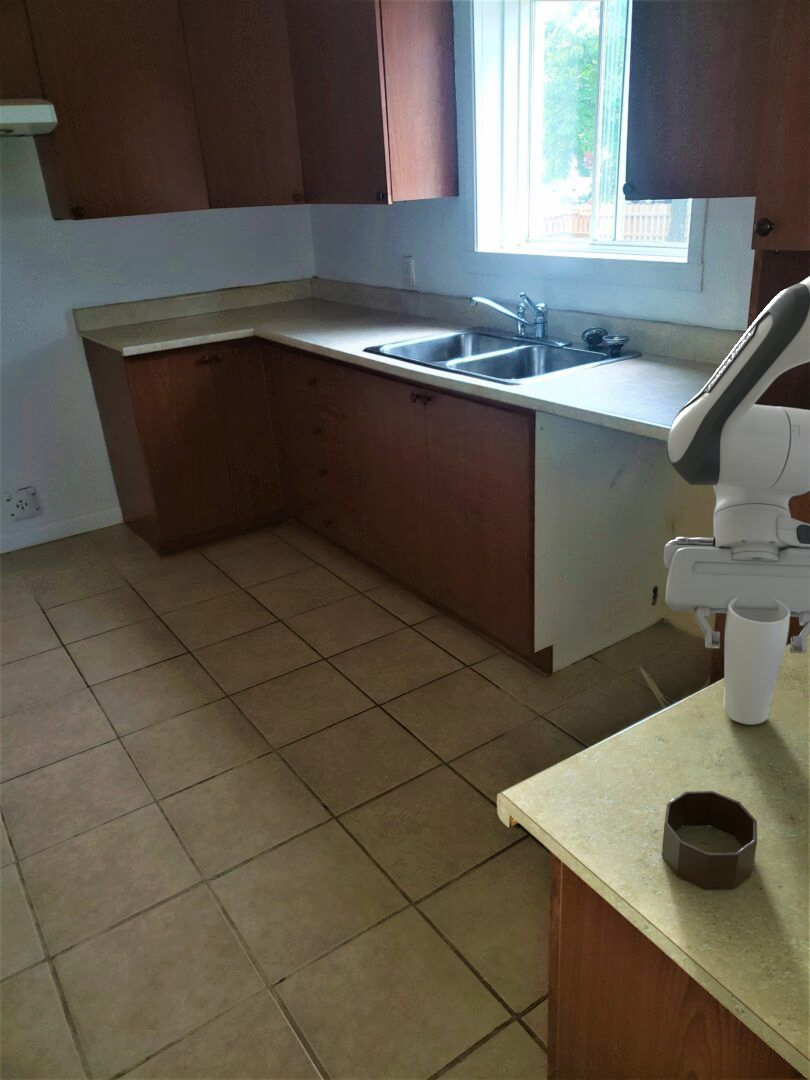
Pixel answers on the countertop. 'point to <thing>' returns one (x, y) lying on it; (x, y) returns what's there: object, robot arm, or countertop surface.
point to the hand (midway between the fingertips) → (755, 650)
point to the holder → (697, 863)
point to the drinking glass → (753, 660)
